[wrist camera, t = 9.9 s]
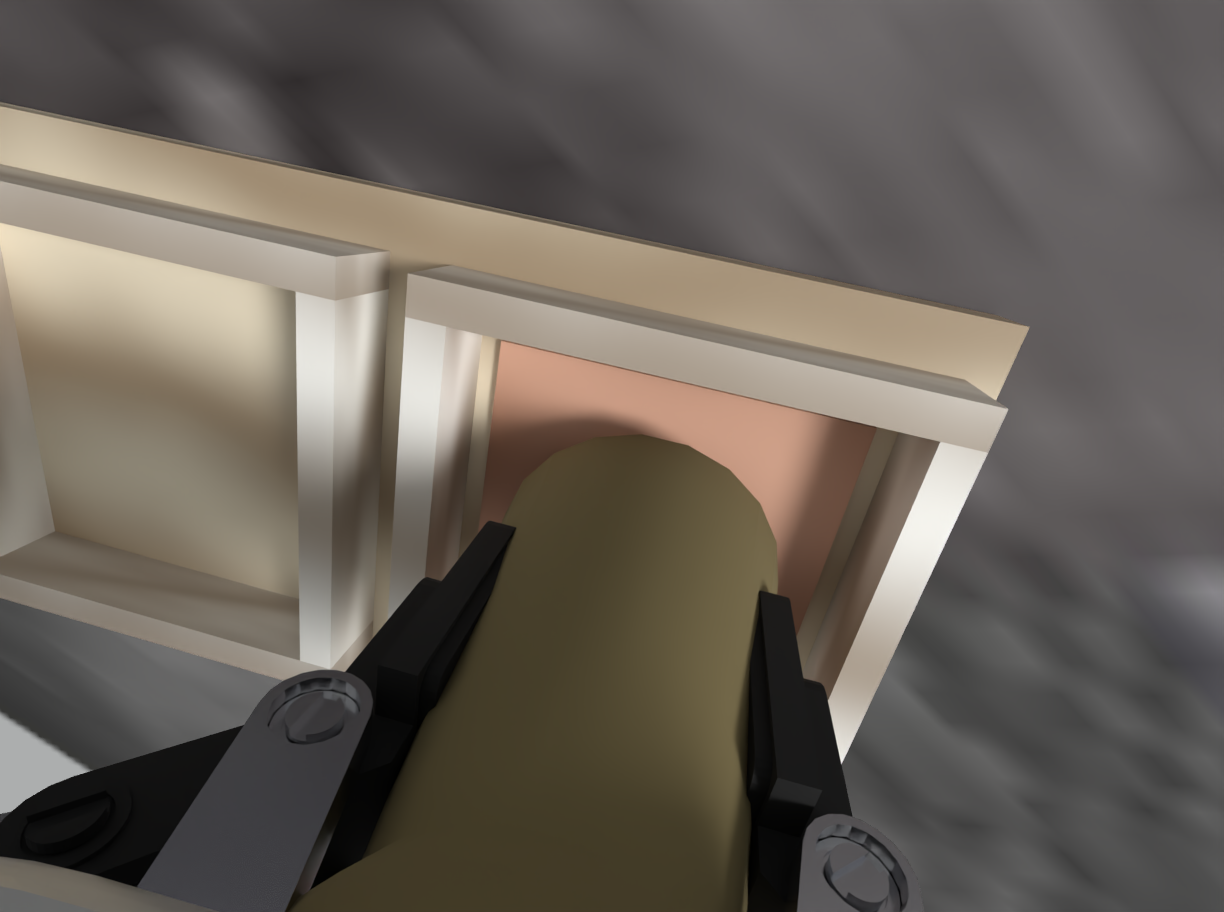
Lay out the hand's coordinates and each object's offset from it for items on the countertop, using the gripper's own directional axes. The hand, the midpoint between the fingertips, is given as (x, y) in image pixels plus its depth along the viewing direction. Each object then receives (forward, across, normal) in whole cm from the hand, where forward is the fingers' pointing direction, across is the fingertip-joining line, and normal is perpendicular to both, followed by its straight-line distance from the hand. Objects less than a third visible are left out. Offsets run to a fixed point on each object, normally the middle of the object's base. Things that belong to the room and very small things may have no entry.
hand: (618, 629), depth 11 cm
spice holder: (+5, +6, 0) cm, 8 cm away
